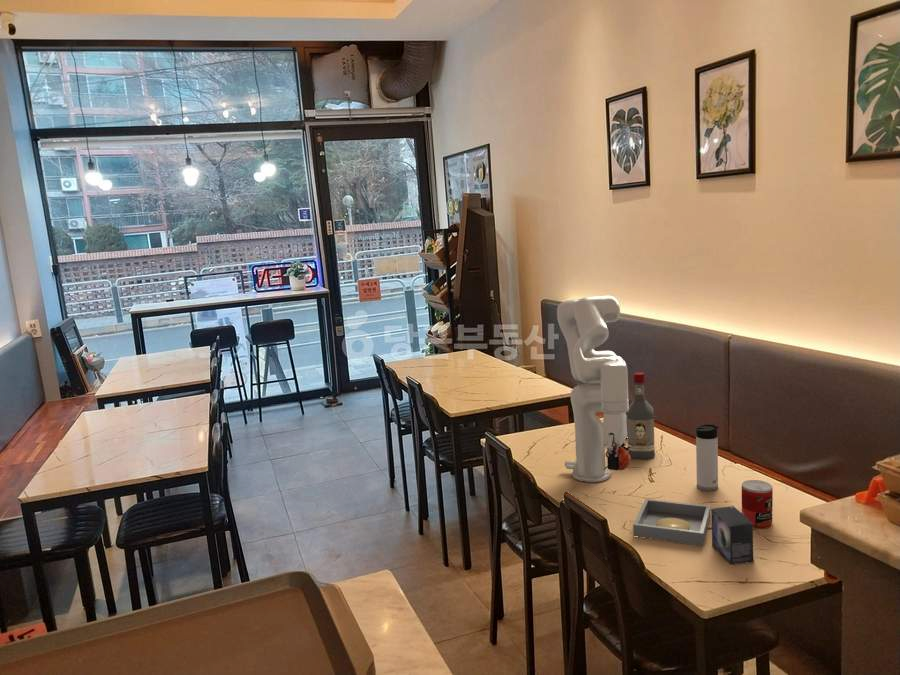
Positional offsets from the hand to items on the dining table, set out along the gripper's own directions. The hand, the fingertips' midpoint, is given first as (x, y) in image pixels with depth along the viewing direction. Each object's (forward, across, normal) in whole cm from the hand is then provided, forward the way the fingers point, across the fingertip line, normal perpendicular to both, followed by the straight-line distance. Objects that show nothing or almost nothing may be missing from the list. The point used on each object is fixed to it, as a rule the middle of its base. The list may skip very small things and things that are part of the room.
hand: (617, 464), depth 200 cm
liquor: (+16, -52, -4) cm, 55 cm away
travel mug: (+16, -29, +21) cm, 39 cm away
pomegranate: (+2, 0, 0) cm, 2 cm away
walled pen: (+16, +2, +16) cm, 22 cm away
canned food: (+16, -7, +36) cm, 40 cm away
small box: (+16, +13, +32) cm, 38 cm away
